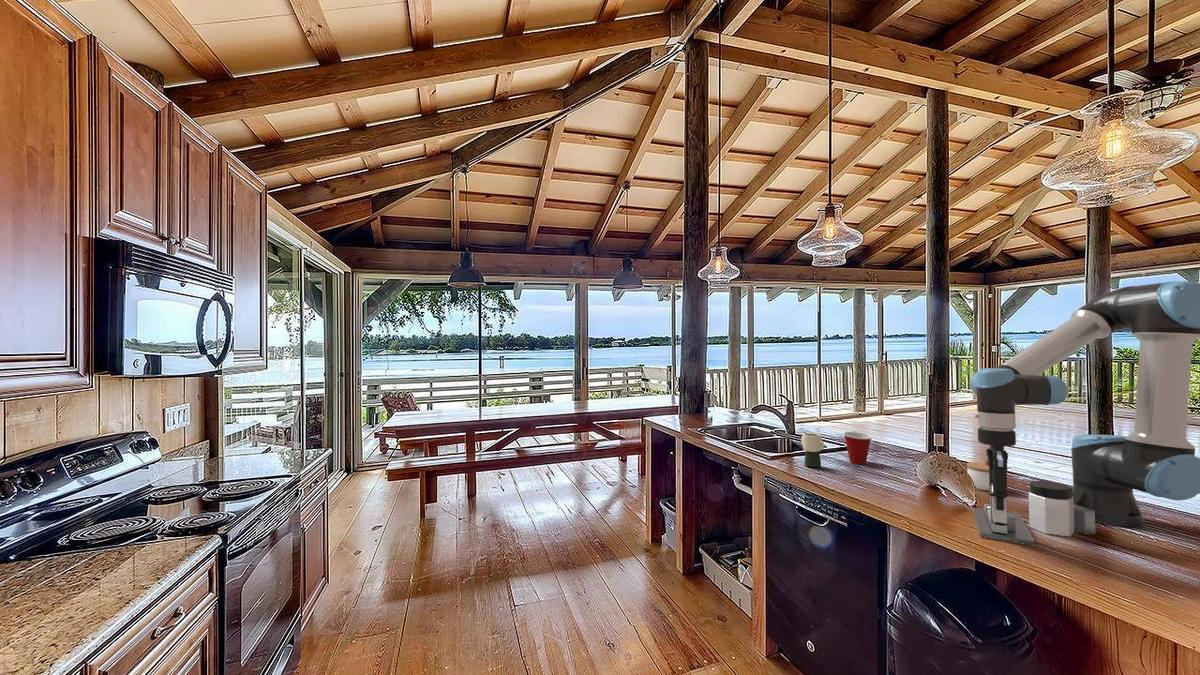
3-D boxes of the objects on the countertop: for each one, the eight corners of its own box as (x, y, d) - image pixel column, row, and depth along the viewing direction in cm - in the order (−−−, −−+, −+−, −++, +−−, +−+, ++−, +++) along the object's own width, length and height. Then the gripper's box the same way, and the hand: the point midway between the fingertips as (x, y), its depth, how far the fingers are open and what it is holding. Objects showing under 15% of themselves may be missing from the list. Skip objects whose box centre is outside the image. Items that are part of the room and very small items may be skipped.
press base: (1019, 518, 134) (1019, 514, 134) (1035, 546, 116) (1035, 541, 116) (972, 511, 140) (972, 507, 140) (980, 537, 122) (980, 532, 122)
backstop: (1061, 522, 131) (1060, 500, 131) (1095, 533, 123) (1094, 510, 123) (1052, 523, 130) (1051, 501, 130) (1085, 534, 122) (1084, 511, 122)
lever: (983, 510, 137) (982, 468, 137) (1007, 513, 134) (1005, 471, 134) (991, 532, 122) (990, 485, 122) (1018, 536, 119) (1016, 488, 119)
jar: (1084, 536, 121) (1082, 489, 121) (1054, 538, 121) (1052, 490, 121) (1049, 523, 130) (1048, 479, 130) (1021, 524, 130) (1019, 480, 130)
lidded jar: (962, 488, 162) (962, 460, 162) (972, 481, 168) (971, 455, 168) (1003, 495, 153) (1002, 466, 153) (1011, 488, 160) (1011, 461, 160)
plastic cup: (868, 467, 189) (867, 437, 189) (839, 463, 197) (839, 434, 197) (877, 462, 196) (876, 433, 196) (849, 458, 204) (849, 430, 204)
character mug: (830, 468, 189) (829, 436, 189) (817, 471, 186) (816, 437, 186) (808, 462, 199) (807, 431, 199) (795, 464, 196) (795, 433, 196)
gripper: (974, 422, 131) (977, 507, 131) (980, 432, 118) (983, 527, 117) (1010, 424, 127) (1012, 512, 127) (1021, 435, 113) (1023, 533, 113)
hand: (998, 519), depth 122 cm, fingers closed on lever, 3 cm apart
